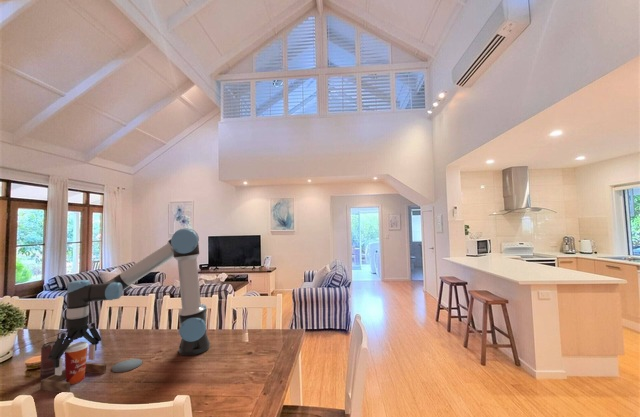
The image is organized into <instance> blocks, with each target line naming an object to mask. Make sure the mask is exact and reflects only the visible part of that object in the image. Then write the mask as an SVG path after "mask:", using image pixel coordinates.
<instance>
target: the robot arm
mask: <svg viewBox="0 0 640 417" xmlns="http://www.w3.org/2000/svg"><path fill="white" fill-rule="evenodd" d="M199 239H200V237H199V234H198V233H197V232H196V230H194V229H191V228H180V229H178V230H176V231H175V232H174V233H173V234H172V236H171V238H170V239H169V240H167V243H166V244H165V245H163V246H162V247H159V249H157V250H155V251H154V252H152V253H150V254H149V255H147V256H146V257H144V258H143V259H141V260H140V261H138V262H136V263H134V264H133V265H132V266H130V267H129V268H127V269H126V270H124V271H121V273H119V274H117V275H116V276H114V277H113V278H111V279H110V280H108V281H106V282H103V283H95V284H94V283H93V284H92V283H91V282H90V280H89V279H78V280H72V281H70V282H69V283H67V291H66V320H65V328H66V331H65V332H58V334H57V337H56V340H55V341H56V342H55V344H54V346H53V348H52V350H51V352H50V354H49V356H48V360H53V367H54V368H55V375H59V376H60V375H62V371H63V358H62V356H63V355H64V354H65V351H66V349H67V348H68V346H69V345H70V344H72V343H74V341H76V340H78V339H81V338H84V339H85V340H86V341H88V342H89V343H90V344H88V345H89V346H88V360H89V361H94V360H96V351H97V348H98V346H97V345H98V344H99V343H100V341H102V337H101V336H100V333H99V332H98V330H97V328H96V323H95V322H89V319H90V318H89V314H90V302H102V301H113V300H114V301H115V300H119V299H121V297H122V294H123V291H124V290H125V289H127V288H128V287H130V286H131V285H133V284H134V283H137V281H139V280H140V279H142V278H143V277H145V276H147V275H148V274H150V273H151V272H153V271H154V270H155V269H157V268H159V267H161V266H163V265H164V264H165V263H167V262H168V261H169V260H171V259H175V260H176V261H177V269H178V280H179V292H180V300H181V301H180V302H181V310H180V312H179V313H178V317H179V329H178V333H179V336H180V338H181V340H180V343H179V346H178V354H179V355H181V356H195V355H199V354H202V353H205V352H206V351H209V349H210V347H211V345H210V344H211V343H210V341H209V337H208V334H207V310H208V309H207V305H206V304H202V300H201V291H200V283H199V282H200V280H199V279H200V278H199V271H198V268H199V267H198V260H197V258H198V257H199V256H200V245H199V244H200V243H199V241H200V240H199ZM88 330H89V332H90V333H89V332H88ZM90 334H91V335H90Z"/></svg>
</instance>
